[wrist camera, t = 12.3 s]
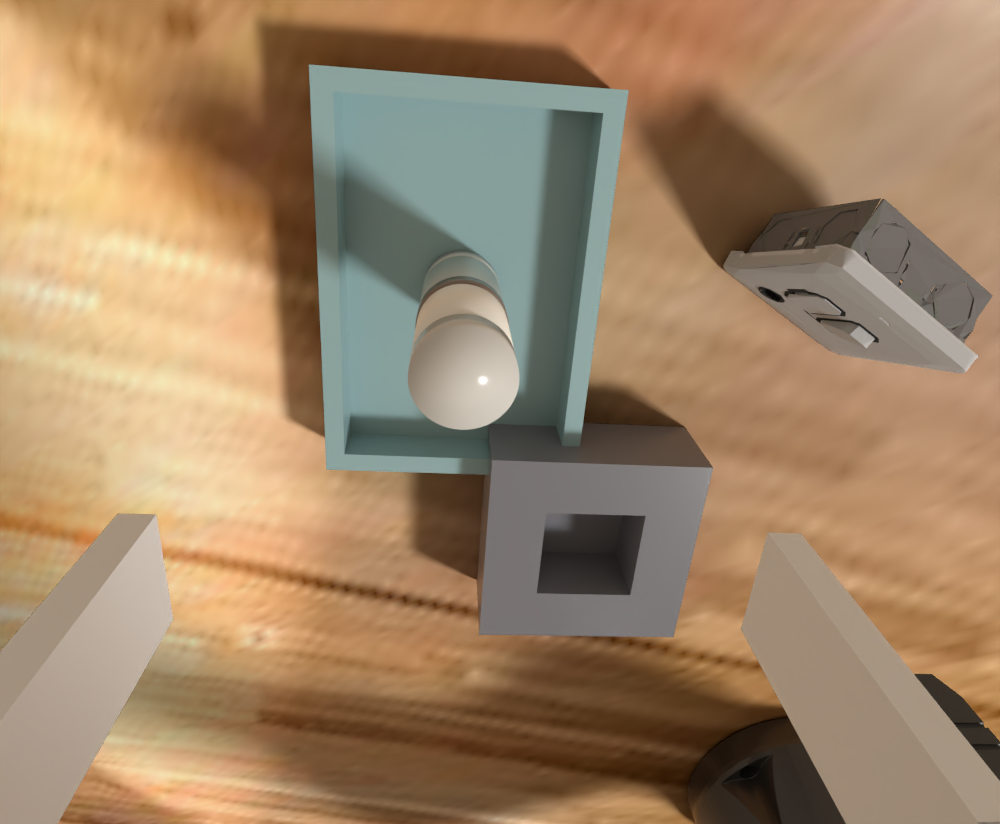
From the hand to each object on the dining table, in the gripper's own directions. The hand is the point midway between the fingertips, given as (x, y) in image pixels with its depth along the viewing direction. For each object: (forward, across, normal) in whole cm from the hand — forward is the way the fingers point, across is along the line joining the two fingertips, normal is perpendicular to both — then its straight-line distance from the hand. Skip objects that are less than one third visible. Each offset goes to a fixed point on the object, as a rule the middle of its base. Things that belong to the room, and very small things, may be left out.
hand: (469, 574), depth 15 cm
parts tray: (+24, 0, -1) cm, 24 cm away
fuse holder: (+24, -8, +13) cm, 29 cm away
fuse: (+23, 0, -1) cm, 23 cm away
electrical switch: (+24, -19, -3) cm, 31 cm away
